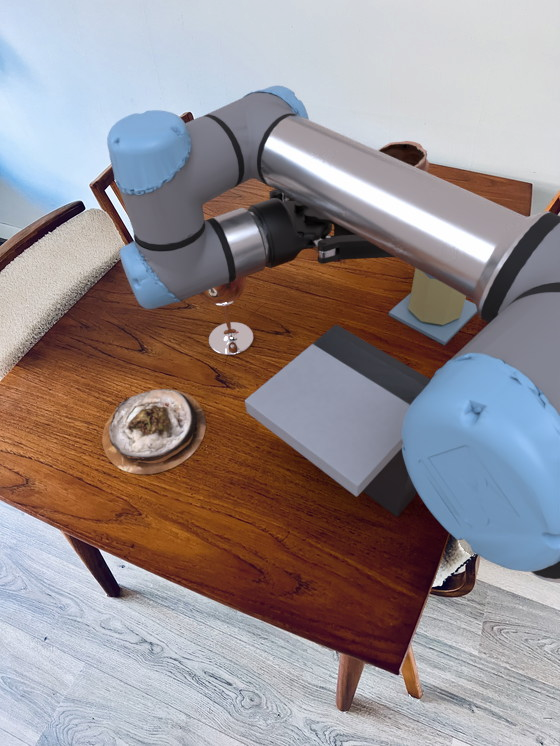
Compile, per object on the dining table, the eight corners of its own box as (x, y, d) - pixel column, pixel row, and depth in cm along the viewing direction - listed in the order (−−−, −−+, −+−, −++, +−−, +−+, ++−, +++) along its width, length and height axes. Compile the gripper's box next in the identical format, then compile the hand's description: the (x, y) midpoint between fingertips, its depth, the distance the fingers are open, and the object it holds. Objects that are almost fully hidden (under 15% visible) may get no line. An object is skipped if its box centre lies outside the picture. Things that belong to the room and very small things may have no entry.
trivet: (479, 310, 88) (480, 306, 88) (444, 345, 84) (445, 342, 83) (424, 283, 94) (425, 279, 93) (388, 315, 89) (388, 312, 88)
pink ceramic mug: (405, 254, 99) (416, 187, 89) (345, 240, 103) (348, 175, 93) (431, 200, 111) (443, 135, 100) (376, 190, 115) (382, 126, 104)
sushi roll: (208, 387, 81) (204, 369, 77) (201, 472, 71) (196, 456, 68) (114, 392, 81) (106, 375, 78) (94, 477, 71) (84, 461, 68)
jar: (445, 336, 84) (465, 260, 72) (396, 312, 88) (408, 238, 77) (472, 305, 88) (495, 229, 77) (424, 284, 92) (439, 209, 81)
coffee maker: (415, 495, 67) (447, 389, 50) (346, 577, 61) (358, 486, 44) (331, 435, 74) (335, 323, 57) (262, 503, 67) (244, 400, 51)
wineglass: (263, 336, 87) (252, 234, 72) (231, 363, 84) (212, 263, 68) (230, 316, 91) (213, 216, 76) (198, 342, 87) (173, 242, 72)
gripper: (221, 216, 71) (353, 173, 77) (307, 326, 56) (465, 263, 62) (212, 163, 66) (356, 121, 71) (306, 270, 51) (480, 207, 56)
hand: (407, 187), depth 66 cm, fingers open, 13 cm apart
